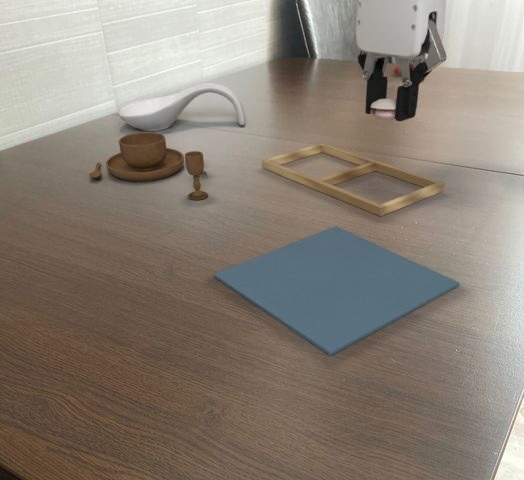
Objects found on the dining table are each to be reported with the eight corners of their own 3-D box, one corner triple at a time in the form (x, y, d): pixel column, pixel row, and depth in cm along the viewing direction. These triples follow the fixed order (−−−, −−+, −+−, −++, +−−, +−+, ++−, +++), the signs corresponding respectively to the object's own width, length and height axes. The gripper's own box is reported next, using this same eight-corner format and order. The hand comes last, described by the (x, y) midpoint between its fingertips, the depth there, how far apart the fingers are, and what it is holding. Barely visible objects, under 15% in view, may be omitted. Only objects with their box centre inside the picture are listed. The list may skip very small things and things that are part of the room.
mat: (335, 228, 68) (335, 225, 67) (459, 285, 56) (459, 282, 56) (214, 277, 59) (213, 273, 59) (330, 356, 48) (330, 352, 47)
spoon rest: (115, 137, 101) (107, 95, 97) (127, 119, 110) (120, 80, 106) (244, 132, 101) (242, 90, 97) (245, 115, 110) (243, 75, 106)
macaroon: (365, 122, 71) (367, 101, 69) (377, 112, 74) (378, 91, 73) (399, 124, 69) (401, 103, 67) (409, 114, 72) (411, 93, 71)
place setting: (201, 153, 92) (197, 116, 89) (213, 199, 76) (209, 156, 73) (93, 162, 90) (85, 125, 86) (83, 211, 74) (73, 167, 71)
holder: (322, 150, 92) (322, 142, 91) (443, 191, 76) (444, 182, 75) (262, 168, 86) (262, 160, 85) (380, 216, 70) (381, 207, 69)
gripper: (493, -67, 56) (463, 121, 67) (370, -61, 67) (362, 99, 78) (446, -62, 53) (423, 135, 64) (325, -57, 64) (323, 110, 75)
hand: (389, 113), depth 71 cm, fingers closed on macaroon, 4 cm apart
